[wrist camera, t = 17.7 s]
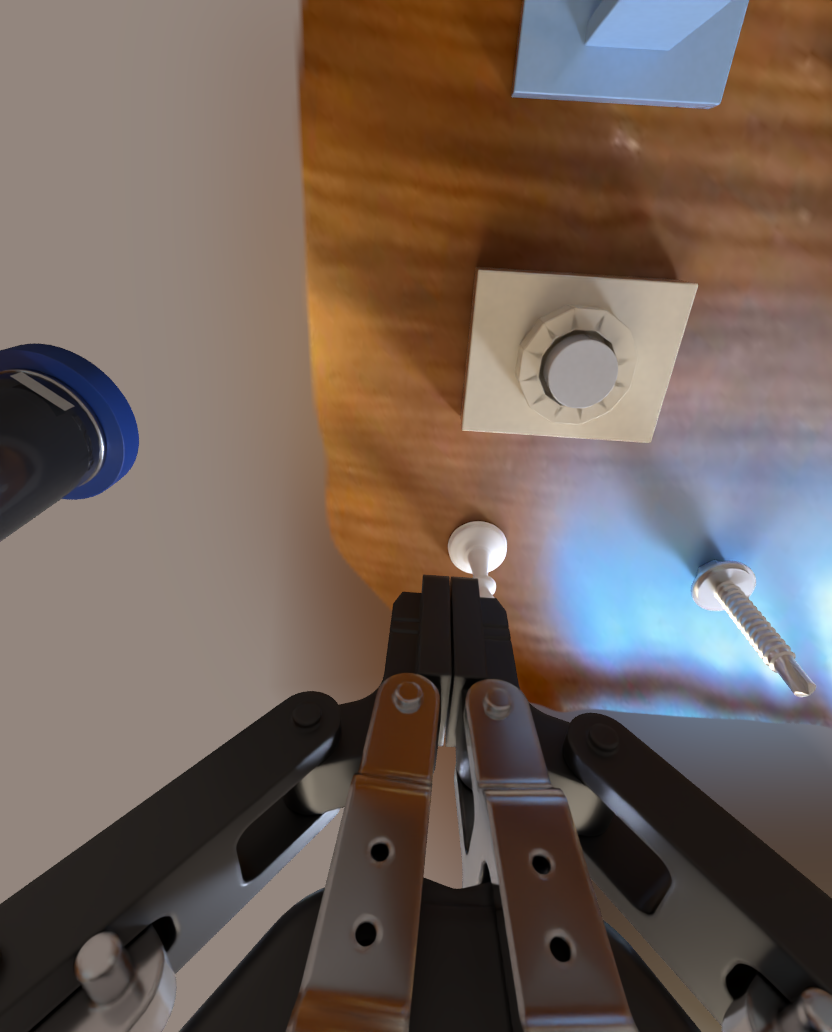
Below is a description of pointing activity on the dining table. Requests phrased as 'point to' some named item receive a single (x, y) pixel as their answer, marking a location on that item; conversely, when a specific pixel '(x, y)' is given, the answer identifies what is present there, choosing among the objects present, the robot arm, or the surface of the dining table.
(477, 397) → the dial knob panel
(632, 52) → the lever bracket
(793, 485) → the dining table surface
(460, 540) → the chess piece
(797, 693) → the screw
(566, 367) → the grey push button
